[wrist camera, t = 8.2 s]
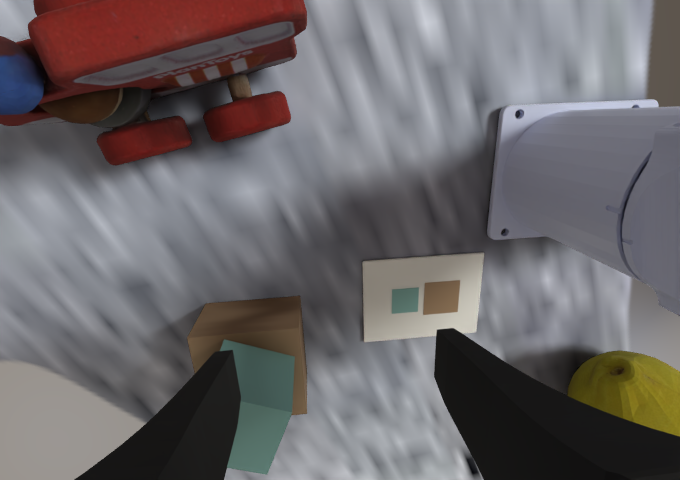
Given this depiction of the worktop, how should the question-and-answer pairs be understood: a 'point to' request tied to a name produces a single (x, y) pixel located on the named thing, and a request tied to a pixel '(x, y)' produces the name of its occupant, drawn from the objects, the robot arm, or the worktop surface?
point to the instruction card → (421, 295)
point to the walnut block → (255, 334)
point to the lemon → (630, 389)
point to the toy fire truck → (147, 67)
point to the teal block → (260, 405)
